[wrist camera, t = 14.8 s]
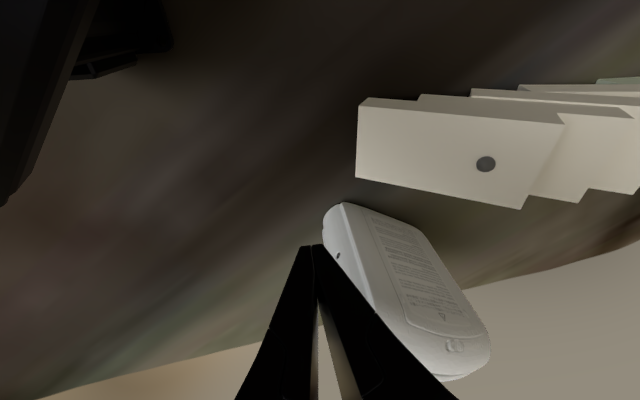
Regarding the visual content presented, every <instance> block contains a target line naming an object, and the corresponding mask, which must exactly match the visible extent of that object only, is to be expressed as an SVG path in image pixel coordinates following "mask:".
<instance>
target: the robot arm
mask: <svg viewBox="0 0 640 400" xmlns="http://www.w3.org/2000/svg"><path fill="white" fill-rule="evenodd" d="M159 36H162V37H164V38H165V40H166V45H165V46H163V45H161V44H160V43H159V41H158V37H159ZM173 46H174V41H173V37H172V34H171V31H170V28H169V25H168V22H167V18H166V15H165V12H164V9H163V6H162V3H161V0H0V207H2V206H4V205H5V204H6V203H7V201H8V198H9V196H10V195H12V194H13V193H15V192H16V191H17V190H18V188H19V187H20V186H21V185H22V184H23V182H24V181H25V180H26V179H27V177H28V176H29V175H30V174H31V173H32V170H33V168H34V165H35V163H36V160H37V158H38V155H39V153H40V150H41V148H42V145H43V143H44V140H45V138H46V135H47V133H48V130H49V128H50V125H51V123H52V120H53V118H54V115H55V113H56V110H57V108H58V105H59V103H60V100H61V98H62V95H63V93H64V90H65V88H66V85H67V83H68V80H84V79H96V78H99V77H102V76H105V75H108V74H110V73H113V72H116V71H119V70H122V69H125V68H128V67H131V66H134V65H136V63H137V61H138V59H137V56H136V54H143V53H160V52H167V51H170V50H171V49H172V48H173ZM317 299H318V300H317ZM318 305H319V309H320V313H321V317H322V321H323V325H324V329H325V333H326V337H327V341H328V345H329V349H330V353H331V357H332V361H333V365H334V369H335V373H336V376H337V381H338V384H339V389H340V392H341V396H342V400H459V399H458V398H456V397H455V396H454V395H453V394H452V393H451V392H450V391H448V390H447V389H446V388H445V387H444V386H443V385H442V384H441V383H440V382H439V381H438V380H437V379H436V378H435V376H434V375H433V374H432V373H431V372H430V371H429V370H428V369H427V368H426V367H425V366H424V365H423V364H422V363H421V362H420V361H419V360H418V359H417V358H416V357H415V356H414V355H413V354H412V353H411V352H410V351H409V350H408V349H407V348H406V347H405V346H404V344H403V343H402V342H401V341H400V340H399V339H398V338H397V337H396V336H395V335H394V333H393V332H392V331H391V330H390V329H389V327H388V326H387V325H386V324H385V323H384V321H383V320H382V319H381V318H380V316H379V315H378V314H377V313H375V310H374V309H373V308H372V306H371V305H370V304H369V302H368V301H367V300H366V299H365V297H364V296H363V295H362V293H361V292H360V291H359V290H358V288H357V287H356V286H355V285H354V283H353V282H352V281H351V279H350V278H349V277H348V276H347V274H346V273H345V272H344V270H343V269H342V268H341V267H340V265H339V264H338V263H337V262H336V260H335V259H334V258H333V256H332V255H331V254H330V253H329V251H328V250H327V249H326V247H325V246H324V245H323V244H316V245H312V247H311V246H310V245H308V246H301V247H300V248H299V251H298V253H297V256H296V258H295V261H294V264H293V266H292V269H291V271H290V274H289V276H288V279H287V281H286V284H285V287H284V289H283V292H282V294H281V297H280V299H279V302H278V304H277V307H276V309H275V312H274V315H273V317H272V320H271V322H270V325H269V329H268V330H267V332H266V335H265V337H264V340H263V342H262V345H261V347H260V349H259V351H258V354H257V356H256V358H255V360H254V362H253V364H252V366H251V368H250V371H249V372H248V375H247V376H246V378H245V380H244V382H243V384H242V386H241V388H240V390H239V392H238V393H237V396H236V397H235V399H234V400H318Z"/></svg>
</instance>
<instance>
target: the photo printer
mask: <svg viewBox="0 0 640 400" xmlns="http://www.w3.org/2000/svg"><path fill="white" fill-rule="evenodd" d="M323 226H324V229H323V231H322V234H323V241H324V246H325V247H326V249H327V250H328V251H329V253H330V254H331V255H332V256H333V258H334V259H335V260H336V262H337V263H338V264H339V265H340V267H341V268H342V269H343V270H344V272H345V273H346V274H347V276H348V277H349V278H350V279H351V281H352V282H353V283H354V285H355V286H356V287H357V288H358V290H359V291H360V292H361V293H362V295H363V296H364V297H365V299H366V300H367V301H368V302H369V304H370V305H371V306H372V308H373V309H374V310H375V313H377V314H378V315H379V316H380V318H381V319H382V320H383V321H384V323H385V324H386V325H387V326H388V327H389V329H390V330H391V331H392V332H393V333H394V335H395V336H396V337H397V338H398V339H399V340H400V341H401V342H402V343H403V344H404V346H405V347H406V348H407V349H408V350H409V351H410V352H411V353H412V354H413V355H414V356H415V357H416V358H417V359H418V360H419V361H420V362H421V363H422V364H423V365H424V366H425V367H426V368H427V369H428V370H429V371H430V372H431V373H432V374H433V375H434V376H435V378H436V379H437V380H438V381H439V382H446V381H451V380H457V379H460V378H463V377H465V376H467V375H468V374H470V373H471V372H473V371H475V370H478V369H479V368H481V367H483V366H484V365H485V364H486V363H487V362H488V360H489V358H490V352H491V345H490V339H489V336H488V332H487V330H486V328H485V326H484V324H483V323H482V321H481V319H480V318H479V316H478V315H477V313H476V312H475V311H474V309H473V307H472V306H471V305H470V303H469V301H468V300H467V299H466V297H465V295H464V294H463V292H462V291H461V289H460V288H459V286H458V285H457V283H456V282H455V280H454V279H453V277H452V276H451V274H450V273H449V271H448V270H447V268H446V267H445V265H444V264H443V262H442V261H441V259H440V258H439V256H438V255H437V253H436V252H435V250H434V249H433V247H432V245H431V244H430V242H429V241H428V239H427V238H426V237H425V235H424V234H423V233H422V232H421V231H420V230H418V229H417V228H415V227H413V226H411V225H409V224H406V223H404V222H402V221H399V220H396V219H394V218H391V217H389V216H386V215H384V214H381V213H378V212H375V211H373V210H370V209H368V208H365V207H361V206H358V205H355V204H352V203H347V202H342V203H341V204H337V205H335V206H333V207H332V208H331V209H330V210H329V211H328V212H327V213H326V215H325V217H324V219H323Z"/></svg>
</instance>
